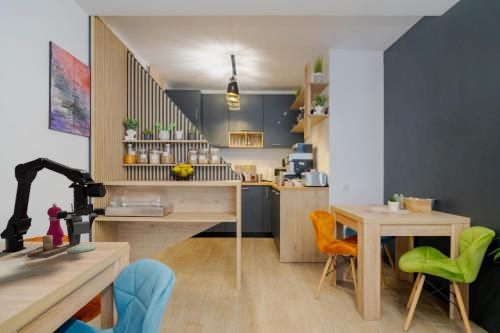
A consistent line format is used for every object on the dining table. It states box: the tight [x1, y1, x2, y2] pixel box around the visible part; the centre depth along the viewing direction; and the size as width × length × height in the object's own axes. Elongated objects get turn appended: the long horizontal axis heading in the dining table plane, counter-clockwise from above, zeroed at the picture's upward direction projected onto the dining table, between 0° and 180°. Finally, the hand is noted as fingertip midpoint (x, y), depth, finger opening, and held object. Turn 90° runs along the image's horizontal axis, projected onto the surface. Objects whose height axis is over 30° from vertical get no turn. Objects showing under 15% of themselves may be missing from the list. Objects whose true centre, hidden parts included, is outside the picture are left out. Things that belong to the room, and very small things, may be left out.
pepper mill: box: [45, 203, 65, 247], centre depth 143 cm, size 7×7×20 cm
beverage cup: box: [64, 203, 83, 246], centre depth 143 cm, size 7×7×20 cm
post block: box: [27, 235, 68, 258], centre depth 128 cm, size 10×10×8 cm
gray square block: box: [73, 220, 91, 235], centre depth 133 cm, size 6×6×4 cm
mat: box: [67, 244, 97, 254], centre depth 133 cm, size 11×11×1 cm
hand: (81, 232), depth 133 cm, fingers closed on gray square block, 6 cm apart
